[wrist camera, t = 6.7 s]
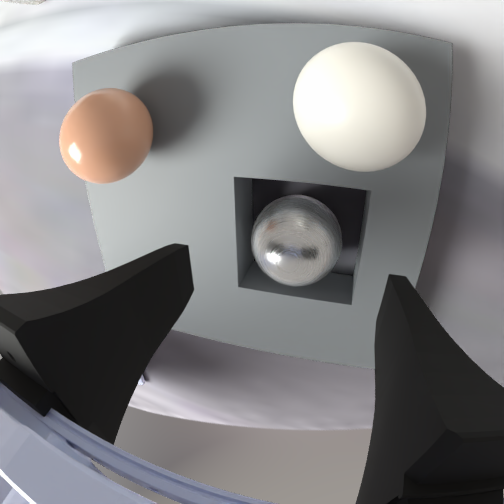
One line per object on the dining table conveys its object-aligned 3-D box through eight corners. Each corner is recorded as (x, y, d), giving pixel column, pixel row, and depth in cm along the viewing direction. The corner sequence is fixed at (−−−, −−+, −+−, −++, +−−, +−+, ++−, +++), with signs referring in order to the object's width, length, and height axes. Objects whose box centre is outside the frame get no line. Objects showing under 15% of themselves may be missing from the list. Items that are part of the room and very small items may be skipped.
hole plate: (138, 293, 22) (119, 314, 20) (103, 60, 14) (72, 62, 12) (384, 339, 17) (384, 370, 15) (435, 50, 9) (452, 43, 7)
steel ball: (260, 248, 17) (236, 292, 14) (267, 177, 15) (242, 206, 12) (334, 264, 16) (328, 313, 13) (350, 192, 14) (351, 227, 11)
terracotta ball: (108, 168, 14) (50, 197, 11) (100, 91, 12) (35, 104, 9) (174, 168, 13) (117, 200, 10) (168, 79, 11) (103, 84, 8)
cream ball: (302, 151, 11) (279, 179, 8) (303, 47, 9) (279, 27, 6) (406, 164, 10) (430, 199, 7) (414, 59, 8) (445, 45, 5)
